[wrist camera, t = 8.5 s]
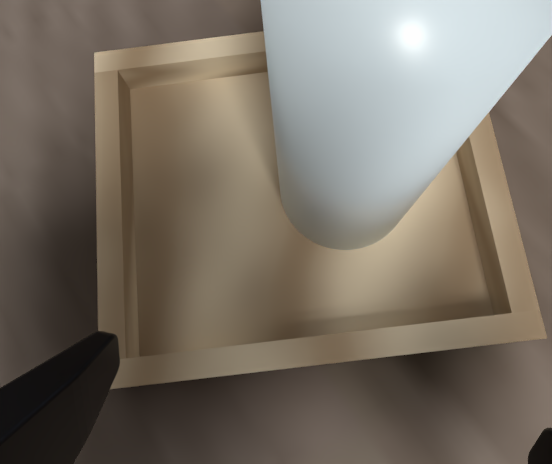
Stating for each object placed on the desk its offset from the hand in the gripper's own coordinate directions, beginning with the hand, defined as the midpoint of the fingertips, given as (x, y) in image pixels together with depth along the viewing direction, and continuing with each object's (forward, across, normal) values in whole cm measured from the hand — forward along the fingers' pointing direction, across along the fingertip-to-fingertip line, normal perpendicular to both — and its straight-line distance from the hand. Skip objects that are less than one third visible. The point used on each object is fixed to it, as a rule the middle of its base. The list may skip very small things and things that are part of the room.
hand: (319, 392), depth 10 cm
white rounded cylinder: (+11, 0, 0) cm, 11 cm away
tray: (+11, +2, +1) cm, 12 cm away
